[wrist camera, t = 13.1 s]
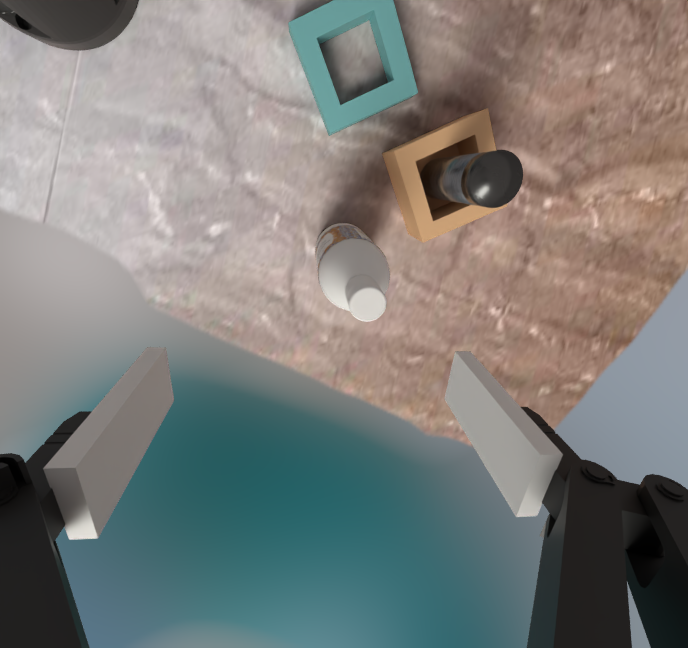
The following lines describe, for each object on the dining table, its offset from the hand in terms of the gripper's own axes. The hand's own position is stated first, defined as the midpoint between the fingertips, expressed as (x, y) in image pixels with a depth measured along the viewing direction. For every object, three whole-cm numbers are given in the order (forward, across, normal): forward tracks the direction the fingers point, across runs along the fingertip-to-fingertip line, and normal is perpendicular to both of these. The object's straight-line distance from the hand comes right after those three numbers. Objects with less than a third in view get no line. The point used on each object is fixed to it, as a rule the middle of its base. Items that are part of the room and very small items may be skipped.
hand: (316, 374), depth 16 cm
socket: (+31, +15, +8) cm, 35 cm away
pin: (+30, +15, +8) cm, 34 cm away
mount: (+31, +4, +19) cm, 36 cm away
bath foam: (+31, +4, -1) cm, 31 cm away
